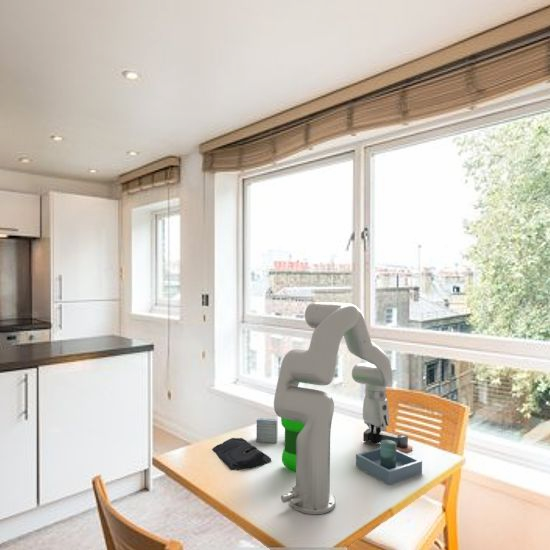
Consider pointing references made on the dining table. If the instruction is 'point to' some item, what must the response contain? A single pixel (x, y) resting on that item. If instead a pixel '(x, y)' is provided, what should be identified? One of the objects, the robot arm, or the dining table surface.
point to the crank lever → (389, 438)
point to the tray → (403, 470)
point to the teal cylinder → (388, 454)
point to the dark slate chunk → (240, 454)
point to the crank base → (404, 449)
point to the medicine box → (267, 429)
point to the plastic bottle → (290, 442)
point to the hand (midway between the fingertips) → (374, 442)
